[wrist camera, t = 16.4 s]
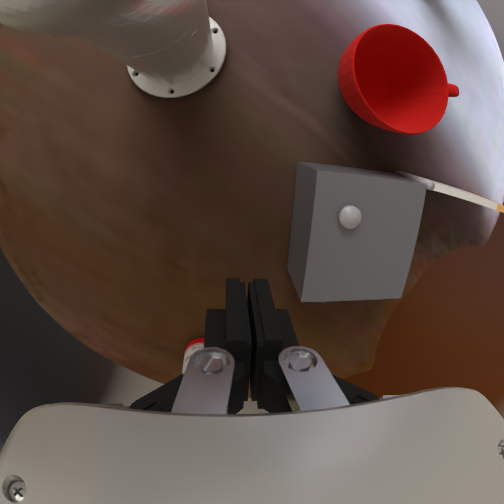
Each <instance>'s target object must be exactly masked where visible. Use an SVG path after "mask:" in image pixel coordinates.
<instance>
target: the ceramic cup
mask: <svg viewBox="0 0 504 504" xmlns="http://www.w3.org/2000/svg"><path fill="white" fill-rule="evenodd" d="M338 83H339V88H340V91H341V93H342V96H343V98H344V100H345V101H346V103H347V105H348V106H349V107H350V108H351V110H352V111H353V112H354V113H355V114H357V115H358V116H359V117H360V118H361V119H363V120H364V121H366V122H368V123H369V124H371V125H373V126H376V127H379V128H381V129H384V130H387V131H392V132H397V133H403V134H419V133H422V132H426V131H428V130H430V129H431V128H433V127H434V126H435V125H436V124H437V123H438V122H439V121H440V120H441V118H442V116H443V115H444V112H445V110H446V107H447V102H448V97H457V96H458V95H459V89H458V87H457V86H456V85H453V84H449V83H448V82H447V77H446V73H445V71H444V68H443V65H442V63H441V61H440V59H439V57H438V56H437V54H436V53H435V51H434V50H433V48H432V47H431V46H430V45H429V44H428V43H427V42H426V41H425V40H424V39H423V38H422V37H420V36H419V35H418V34H416V33H415V32H413V31H411V30H409V29H407V28H405V27H402V26H399V25H393V24H382V25H377V26H374V27H371V28H369V29H367V30H366V31H364V32H363V33H361V34H360V35H359V36H357V37H356V38H355V39H354V40H353V41H352V42H351V43H350V45H349V46H348V47H347V48H346V50H345V51H344V53H343V55H342V57H341V60H340V62H339V67H338Z"/></svg>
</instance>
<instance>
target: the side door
mask: <svg viewBox="0 0 504 504" xmlns="http://www.w3.org/2000/svg"><path fill="white" fill-rule="evenodd" d="M394 174H396V175H399V176H402V177H405V178H408V179H411V180H414V181H417V182H420V183H423V184H426V185H427V188H426V189H428V190H434V191H437V192H441V193H444V194H448V195H451V196H454V197H458V198H461V199H464V200H467V201H471V202H474V203H477V204H480V205H483V206H486V207H489V208H491V209H494V210H497V211H500V212H503V213H504V206H503V205H501V204H499V203H496V202H494V201H491V200H489V199H486V198H484V197H481V196H478V195H476V194H473V193H470V192H467V191H464V190H461V189H458V188H455V187H452V186H449V185H446V184H443V183H439V182H436V181H433V180H429V179H426V178H422V177H419V176H416V175H413V174H409V173H406V172H403V171H399V170H395V171H394Z"/></svg>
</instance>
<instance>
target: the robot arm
mask: <svg viewBox="0 0 504 504" xmlns="http://www.w3.org/2000/svg"><path fill="white" fill-rule="evenodd" d="M0 23H2V24H4V25H6V26H9V27H12V28H15V29H18V30H22V31H26V32H30V33H35V34H42V35H51V36H63V37H74V38H78V39H82V40H84V41H87V42H89V43H91V44H93V45H95V46H97V47H98V48H100V49H102V50H103V51H105V52H106V53H108V54H110V55H111V56H113V57H115V58H116V59H118V60H120V61H121V62H123V63H124V64H126V65H127V69H128V73H129V75H130V77H131V79H132V80H133V81H134V83H135V84H136V85H137V86H138V87H139V88H141V89H142V90H143V91H145V92H147V93H149V94H151V95H154V96H157V97H162V98H178V97H184V96H187V95H190V94H193V93H195V92H197V91H199V90H200V89H202V88H204V87H205V86H206V85H208V84H209V83H210V82H211V81H212V80H213V79H214V78H215V77H216V76H217V74H218V73H219V71H220V70H221V68H222V65H223V63H224V61H225V56H226V40H225V36H224V34H223V31H222V29H221V28H220V26H219V25H218V24H217V23H216V22H215V21H214V20H213V19H212V18H211V17H209V14H208V8H207V1H206V0H0ZM215 31H216V32H217V33H215V34H214V33H213V32H215ZM211 69H214V72H210V70H211ZM137 73H139V74H138V76H136V74H137ZM172 90H174V93H173V94H171V91H172ZM249 380H250V389H251V399H252V401H257V405H258V409H265V410H266V411H268V412H269V413H263V414H236V413H238V412H239V411H240V410H241V409H242V408H243V404H244V401H247V400H248V388H249ZM0 504H504V420H503V418H502V417H501V415H500V414H499V413H498V412H497V410H496V409H495V408H494V407H493V405H492V404H491V403H490V402H489V401H488V400H487V399H486V398H485V397H484V396H483V395H482V394H480V393H479V392H477V391H475V390H472V389H468V388H459V387H444V388H443V387H442V388H435V389H429V390H424V391H419V392H415V393H409V394H404V395H396V396H395V395H393V396H391V395H387V396H382V398H381V399H379V398H378V397H377V396H376V395H374V394H373V393H371V392H368V391H366V390H364V389H362V388H360V387H358V386H356V385H353V384H351V383H349V382H347V381H345V380H343V379H341V378H339V377H336V376H334V375H332V374H331V373H330V371H329V369H328V368H327V366H326V365H325V363H324V361H323V360H322V358H321V357H320V355H319V354H318V353H317V352H316V351H314V350H313V349H310V348H308V347H303V346H299V344H298V341H297V338H296V335H295V332H294V329H293V326H292V323H291V319H290V316H289V313H288V311H287V309H275V306H274V302H273V299H272V295H271V291H270V287H269V284H268V280H267V279H253V282H249V283H248V297H247V298H246V290H245V282H240V280H239V278H226V309H207V313H206V324H205V336H204V348H202V349H200V350H197V351H196V352H194V353H193V354H192V355H191V357H190V359H189V362H188V364H187V367H186V370H185V373H183V374H182V375H180V376H178V377H177V378H175V379H173V380H171V381H170V382H168V383H166V384H164V385H163V386H161V387H159V388H158V389H156V390H154V391H152V392H150V393H149V394H147V395H145V396H143V397H141V398H140V399H138V400H136V401H135V402H134V403H132V404H131V406H127V407H126V406H125V407H124V406H123V404H87V403H56V404H47V405H43V406H39V407H36V408H34V409H31V410H30V411H28V412H27V413H26V414H25V415H24V416H23V417H22V418H21V419H20V420H19V421H18V423H17V424H16V426H15V427H14V429H13V430H12V432H11V434H10V435H9V437H8V439H7V441H6V443H5V445H4V447H3V450H2V452H1V454H0Z"/></svg>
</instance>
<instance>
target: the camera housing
mask: <svg viewBox="0 0 504 504" xmlns="http://www.w3.org/2000/svg"><path fill="white" fill-rule="evenodd" d="M426 188H427V185H426V184H423V183H420V182H417V181H414V180H411V179H408V178H405V177H402V176H399V175H396V174H393V173H389V172H382V171H375V170H368V169H361V168H353V167H345V166H337V165H327V164H318V163H307V162H297V169H296V181H295V192H294V204H293V214H292V225H291V235H290V244H289V254H288V263H287V270H288V272H289V275H290V277H291V279H292V282H293V284H294V287H295V289H296V291H297V294H298V296H299V299H300V301H301V302H315V303H328V302H331V301H354V300H375V299H393V298H401V297H402V293H403V290H404V287H405V283H406V280H407V276H408V272H409V269H410V265H411V261H412V257H413V253H414V249H415V245H416V240H417V236H418V231H419V227H420V222H421V217H422V211H423V206H424V200H425V194H426Z"/></svg>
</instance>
